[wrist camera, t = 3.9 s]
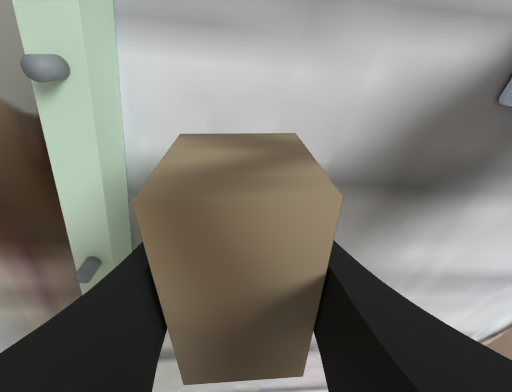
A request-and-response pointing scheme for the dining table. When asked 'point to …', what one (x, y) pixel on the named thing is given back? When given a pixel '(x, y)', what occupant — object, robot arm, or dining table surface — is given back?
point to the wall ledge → (81, 124)
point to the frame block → (238, 252)
